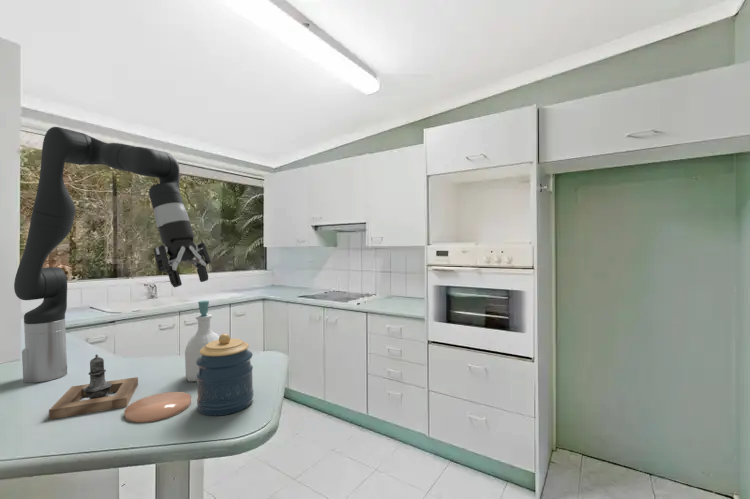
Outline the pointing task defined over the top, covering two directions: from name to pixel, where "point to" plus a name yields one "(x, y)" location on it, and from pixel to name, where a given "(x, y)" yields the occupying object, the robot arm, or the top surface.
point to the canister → (224, 377)
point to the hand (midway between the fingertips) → (191, 283)
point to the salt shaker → (97, 380)
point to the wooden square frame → (73, 406)
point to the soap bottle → (198, 341)
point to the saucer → (157, 407)
